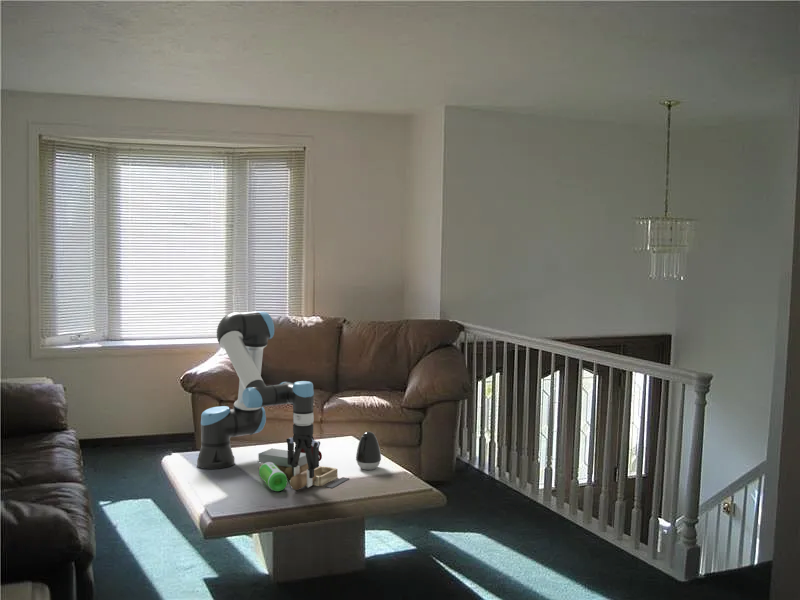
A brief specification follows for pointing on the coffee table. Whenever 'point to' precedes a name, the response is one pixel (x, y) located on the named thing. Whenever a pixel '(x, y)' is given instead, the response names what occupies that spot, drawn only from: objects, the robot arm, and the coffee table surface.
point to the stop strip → (337, 482)
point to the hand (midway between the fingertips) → (303, 484)
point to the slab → (279, 457)
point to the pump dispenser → (368, 452)
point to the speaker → (273, 476)
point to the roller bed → (290, 470)
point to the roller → (300, 480)
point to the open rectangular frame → (324, 475)
